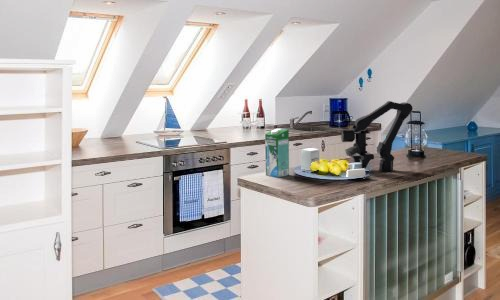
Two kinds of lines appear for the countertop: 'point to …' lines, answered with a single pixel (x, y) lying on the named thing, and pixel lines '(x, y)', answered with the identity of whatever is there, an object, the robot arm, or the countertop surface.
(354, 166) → the pale blue block
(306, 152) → the supplement box
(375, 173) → the countertop surface
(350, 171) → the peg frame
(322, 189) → the countertop surface
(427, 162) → the countertop surface
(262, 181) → the countertop surface
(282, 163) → the milk carton
